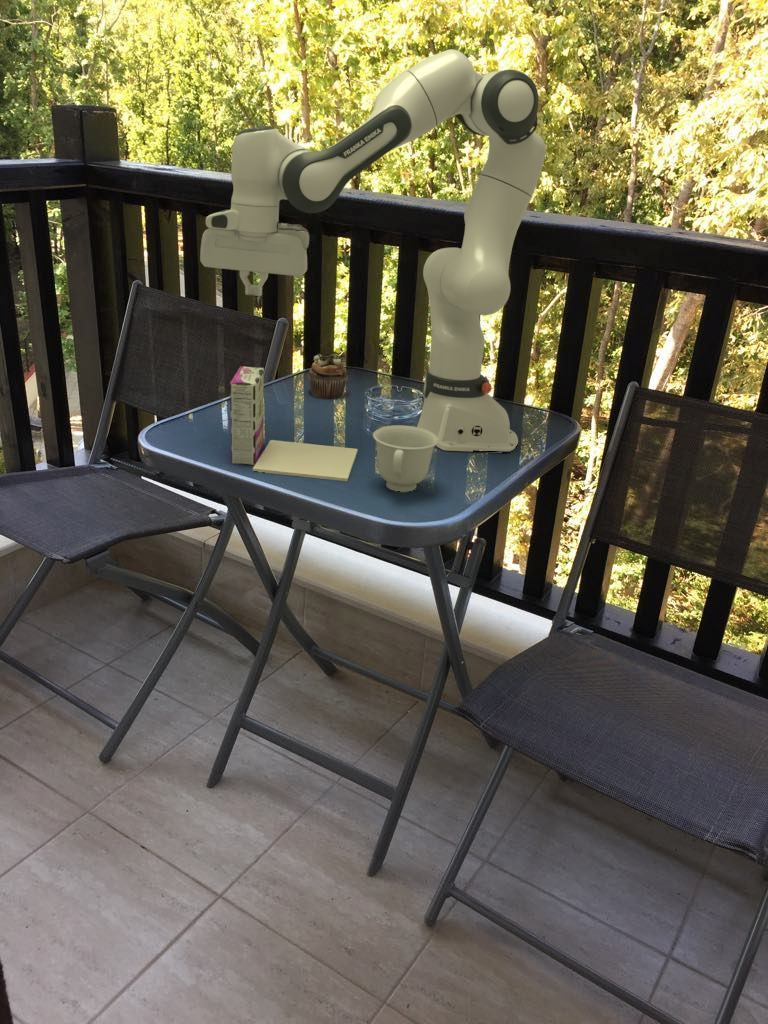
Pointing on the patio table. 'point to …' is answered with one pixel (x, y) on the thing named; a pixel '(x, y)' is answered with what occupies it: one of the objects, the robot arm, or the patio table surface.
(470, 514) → the patio table surface
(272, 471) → the plain beige board
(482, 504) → the patio table surface
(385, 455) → the teacup
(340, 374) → the cupcake
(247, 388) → the candy bar box
